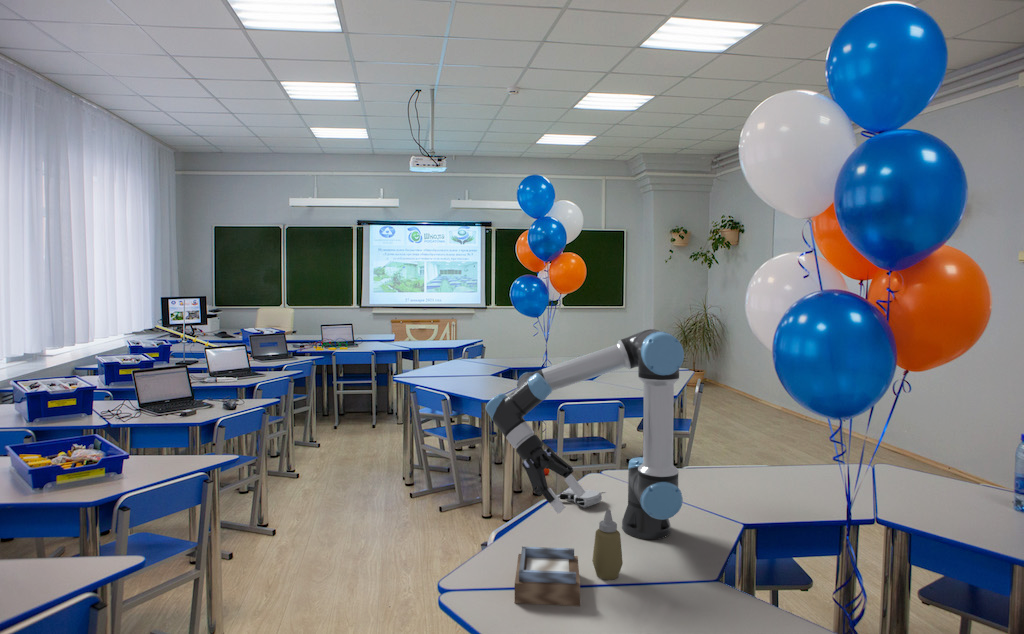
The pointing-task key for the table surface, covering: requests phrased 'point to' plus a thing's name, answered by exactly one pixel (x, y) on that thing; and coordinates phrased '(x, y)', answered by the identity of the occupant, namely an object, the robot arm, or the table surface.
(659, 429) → the robot arm
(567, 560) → the dock
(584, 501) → the robot toy
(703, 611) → the table surface
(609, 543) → the squeeze bottle
